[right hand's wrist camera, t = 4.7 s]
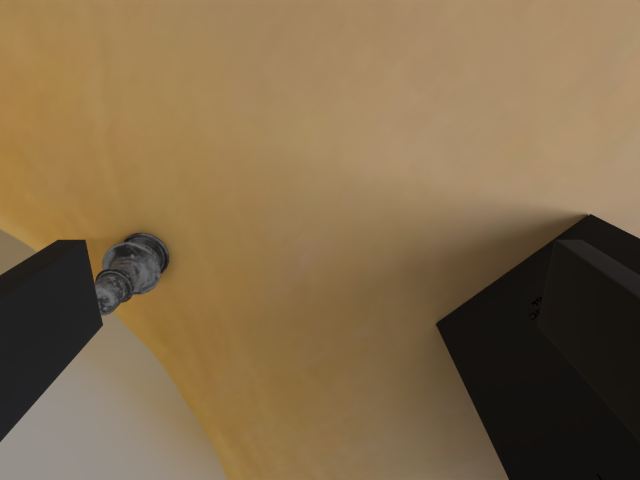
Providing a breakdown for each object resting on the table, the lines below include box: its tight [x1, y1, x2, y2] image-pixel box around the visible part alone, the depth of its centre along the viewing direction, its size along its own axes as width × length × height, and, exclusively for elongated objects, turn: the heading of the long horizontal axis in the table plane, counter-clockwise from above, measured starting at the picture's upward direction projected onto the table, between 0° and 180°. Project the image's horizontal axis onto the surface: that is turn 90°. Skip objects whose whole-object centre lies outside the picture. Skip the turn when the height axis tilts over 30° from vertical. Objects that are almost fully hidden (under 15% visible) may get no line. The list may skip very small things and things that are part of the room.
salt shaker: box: [94, 233, 169, 315], centre depth 42 cm, size 6×6×12 cm
